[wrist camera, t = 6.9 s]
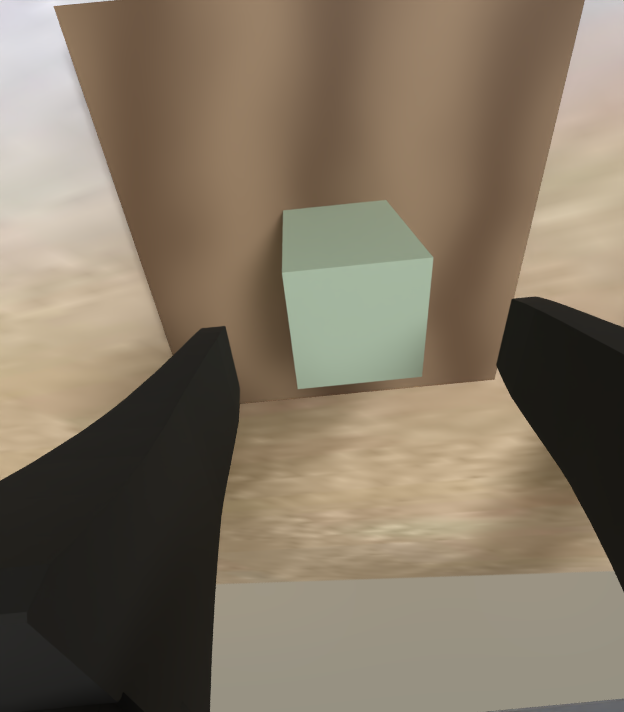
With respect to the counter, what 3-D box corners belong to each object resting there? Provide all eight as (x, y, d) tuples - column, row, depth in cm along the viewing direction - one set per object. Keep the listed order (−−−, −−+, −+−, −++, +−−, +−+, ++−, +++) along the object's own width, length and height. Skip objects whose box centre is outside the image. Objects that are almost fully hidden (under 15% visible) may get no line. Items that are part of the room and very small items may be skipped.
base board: (557, -31, 13) (595, -46, 12) (479, 357, 23) (494, 379, 21) (81, 15, 13) (53, 6, 12) (197, 384, 23) (191, 408, 21)
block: (386, 199, 15) (433, 257, 10) (383, 293, 18) (421, 376, 13) (283, 210, 15) (281, 272, 10) (294, 302, 18) (297, 389, 13)
